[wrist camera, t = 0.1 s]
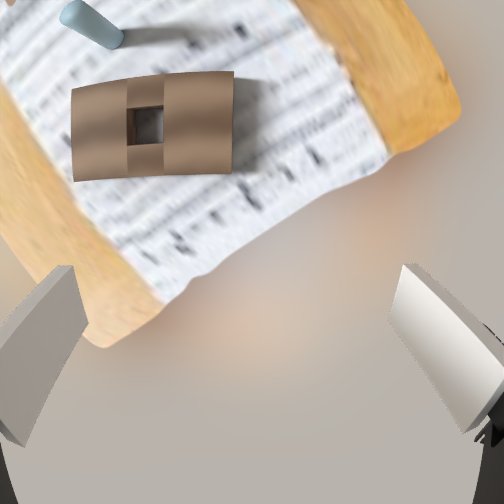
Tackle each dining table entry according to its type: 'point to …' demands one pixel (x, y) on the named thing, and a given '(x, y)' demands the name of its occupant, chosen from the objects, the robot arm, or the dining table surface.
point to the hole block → (174, 126)
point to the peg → (91, 24)
